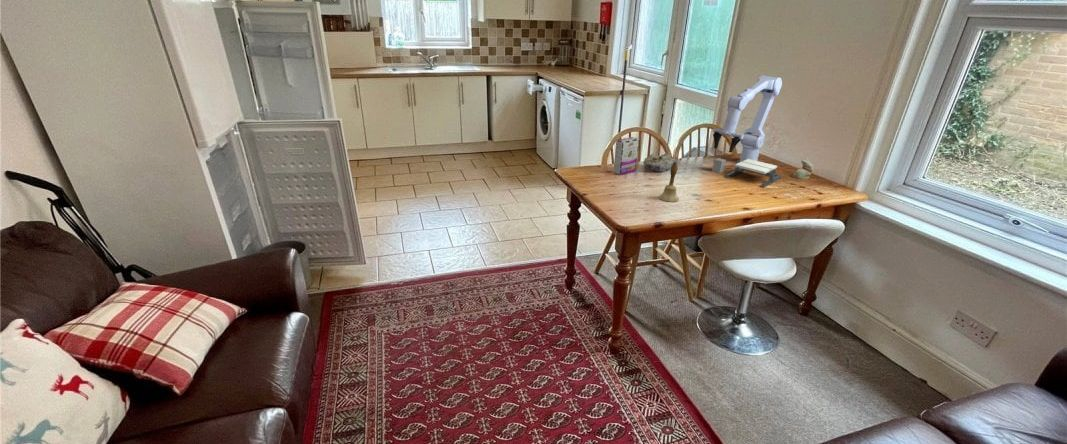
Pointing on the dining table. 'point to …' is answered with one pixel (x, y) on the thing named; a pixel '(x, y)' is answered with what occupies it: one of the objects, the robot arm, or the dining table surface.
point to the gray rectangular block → (718, 165)
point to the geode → (659, 162)
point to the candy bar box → (626, 155)
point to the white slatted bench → (772, 175)
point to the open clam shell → (804, 170)
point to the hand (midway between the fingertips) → (722, 150)
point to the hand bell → (670, 187)
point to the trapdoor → (756, 166)
